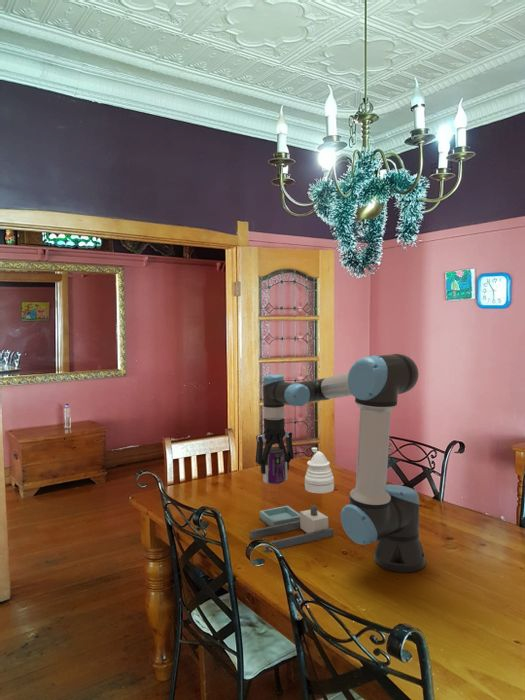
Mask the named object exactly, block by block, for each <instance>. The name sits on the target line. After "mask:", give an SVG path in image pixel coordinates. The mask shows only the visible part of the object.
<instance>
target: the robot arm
mask: <svg viewBox="0 0 525 700" xmlns="http://www.w3.org/2000/svg"><path fill="white" fill-rule="evenodd" d="M418 380H419V368H418V366H417V364H416V363H415V361H414V360H413V359H412V358H411V357H409V356H408V355H405V354H401V353H393V354H379V355H378V354H377V355H368V356H365V357H360V358H359V359H357V360H356V361H355V362H354V363H353V364H352V365H351V367H350V369H349V371H348V372H346V373H341V374H338V375H333V376H329V377H323V378H319V379H313V380H305V381H295V382H290V381H289V382H287V381H285V377H284V375H282V374H265V375H264V376H263V379H262V398H263V399H262V400H263V402H262V403H263V417H264V418H263V429H264V431H263V433H262V434H261V435H256V436H255V439H256V448H255V450H256V451H255V460H254V461H255V463H256V464H258V465H260V474H262V482H263V483H265V484H269V483H268V465H266V462H267V459H268V455H269V451H270V449H271V448H272V447H273V445H275V444H277V445H278V448H281V449H283V452H284V456H285V481H287V480H288V470H289V469H290V462H291V460H294V458H295V454H294V449H293V439H292V438H293V433H292V432H291V431H288V430H287V431H286V429H285V428H286V424H285V423H286V421H285V420H286V419H285V413H286V412H285V405H289V406H293V407H303V406H305V405H306V404H308V403H313V402H323V401H329V400H332V399H337V398H344V397H349V396H353V397H355V398H354V403H355V404H356V405H357V406H358V407H359V420H358V421H359V422H358V437H357V438H358V441H357V454H356V455H357V456H356V457H357V458H356V472H355V473H356V474H355V475H356V476H355V487H354V488H353V489H352V490H351V491H350V492H349V503H348V504H345V506H344V507H343V508H342V509H341V511H340V516H339V517H340V522H341V523H340V524H341V526H342V529H343V531H344V532H345V533H346V535H347V537H348V538H349V539H350V540H351V541H353V542H354V543H355V544H358V545H362V546H363V545H369V544H374V543H375V542H377V544H376V547H375V549H374V552H373V553H374V556H373V557H374V561H375V563H376V564H377V565H378V566H380V567H381V568H382V569H384V570H387V571H391V572H394V573H396V572H397V573H415V572H418V571H420V570H422V569H423V568H425V565H426V556H425V552H424V549H423V546H422V543H421V540H420V505H421V503H420V498H419V493H418V492H417V490H415V489H414V488H411V487H408V486H405V485H400V484H389V483H388V484H387V481H388V480H387V478H388V462H389V451H390V450H389V449H390V448H389V446H390V445H389V444H390V432H391V418H392V417H391V416H392V410H393V409H395V408H396V407H397V406H398V397H399V396H398V395H401V394H405V393H408V392H409V391H411V390H412V389H413V388H414V387H415V386H416V384H417V382H418ZM284 437H285V442H284ZM264 441H265V442H264ZM285 445H286V446H285Z"/></svg>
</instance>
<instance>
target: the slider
mask: <svg viewBox="0 0 525 700" xmlns="http://www.w3.org/2000/svg"><path fill="white" fill-rule="evenodd" d="M309 507H310V509H306V510H301V511H299V514H300V529H301V530H302V531H304V532H305V534H307V533H311V532H316V531H320V530H325V529H329V516H327V515H325V514H324V513H322V512H320V511H319V510H318V505H316V504H311V505H310V506H309Z"/></svg>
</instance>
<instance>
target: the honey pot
mask: <svg viewBox="0 0 525 700" xmlns="http://www.w3.org/2000/svg"><path fill="white" fill-rule="evenodd" d="M311 451H312V452H313V453H314V454H313V455H312V457H311V459H310V460H307V462H306V464H307V469H306V472H305V475H304V490H305V491H306V492H309V493H313V494H327V493H331V492H333V491H334V490H335V478H334V475H333V472H332V468H331V466H330V465H331V462H330V461H329V460H328V459H327V456H325V454H324V453H323V452H322V451H320V450H318V447H311Z"/></svg>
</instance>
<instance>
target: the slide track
mask: <svg viewBox="0 0 525 700" xmlns="http://www.w3.org/2000/svg"><path fill="white" fill-rule="evenodd" d="M299 529H301V528H300V520H298V521H294V522H289V523H284V524H279V525H275V526H270V527H269V526H266V527H262V528H261V527H260V528H256V529H253V530H249V538H250V539H251V540H253V539H258V537H259V538H263V537H268V536H272V534H273V535H277V534H280V533H281V532H282V533H285V532H291V531H294V530H295V531H296V530H299ZM331 537H334V528H332V527H330V528H329V529H325V530H320V531H316V532H311V533H303V534H299V535H294V536H289V537H284V538H282V539H276V540H272V541H270V542H271V543H272V544H273V545H275V546H276V547H277V548H279V549H278V550H280V549H284V548H289V547H293V546H298V545H302V544H306V543H310V542H311V543H312V542H315V541H320V540H323V539H328V538H331ZM263 551H264V552H265V553H267V552H272V551H271V550H270V549H269V547H266V546H264V545H263Z"/></svg>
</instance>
